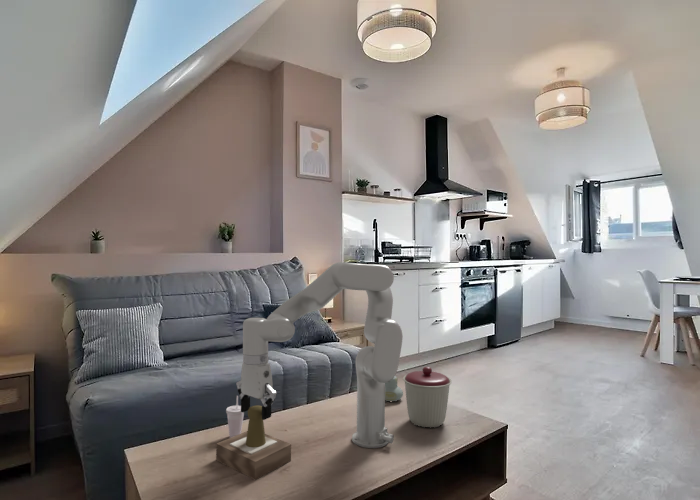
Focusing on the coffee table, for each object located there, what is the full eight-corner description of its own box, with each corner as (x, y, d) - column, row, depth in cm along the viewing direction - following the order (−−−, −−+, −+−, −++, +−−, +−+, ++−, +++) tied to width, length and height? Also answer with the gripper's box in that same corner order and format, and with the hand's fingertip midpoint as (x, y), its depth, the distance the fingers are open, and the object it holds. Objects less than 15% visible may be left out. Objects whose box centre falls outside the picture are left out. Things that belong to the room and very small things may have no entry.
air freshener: (403, 397, 186) (404, 375, 187) (401, 404, 178) (402, 380, 178) (379, 395, 189) (379, 373, 189) (376, 401, 181) (376, 378, 181)
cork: (256, 449, 124) (256, 411, 124) (241, 444, 127) (241, 407, 127) (270, 441, 129) (270, 405, 129) (255, 436, 132) (256, 401, 132)
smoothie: (239, 441, 140) (240, 399, 141) (221, 439, 142) (222, 398, 142) (247, 433, 147) (248, 393, 147) (231, 431, 148) (231, 392, 148)
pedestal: (290, 460, 128) (291, 442, 128) (255, 479, 117) (255, 460, 117) (252, 444, 139) (252, 427, 139) (216, 460, 128) (216, 442, 128)
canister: (393, 423, 158) (393, 367, 158) (418, 410, 172) (419, 358, 172) (436, 437, 146) (436, 376, 146) (459, 422, 160) (460, 366, 160)
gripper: (284, 360, 126) (284, 417, 126) (247, 352, 136) (247, 404, 136) (265, 365, 120) (265, 425, 120) (227, 357, 130) (228, 412, 130)
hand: (255, 414), depth 128 cm, fingers open, 9 cm apart
